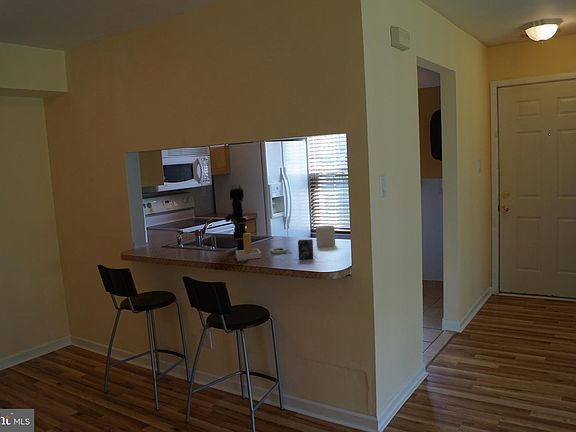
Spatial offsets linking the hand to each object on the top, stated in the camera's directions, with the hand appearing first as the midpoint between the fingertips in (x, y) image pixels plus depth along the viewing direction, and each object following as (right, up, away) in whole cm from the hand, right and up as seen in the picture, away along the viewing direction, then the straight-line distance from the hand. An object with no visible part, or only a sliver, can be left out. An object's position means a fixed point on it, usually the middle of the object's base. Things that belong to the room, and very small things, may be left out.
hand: (239, 234), depth 311 cm
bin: (+6, -14, -10) cm, 18 cm away
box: (+40, -13, -22) cm, 47 cm away
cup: (+54, -8, +11) cm, 55 cm away
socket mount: (+24, -12, -5) cm, 27 cm away
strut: (+6, -13, -10) cm, 18 cm away
